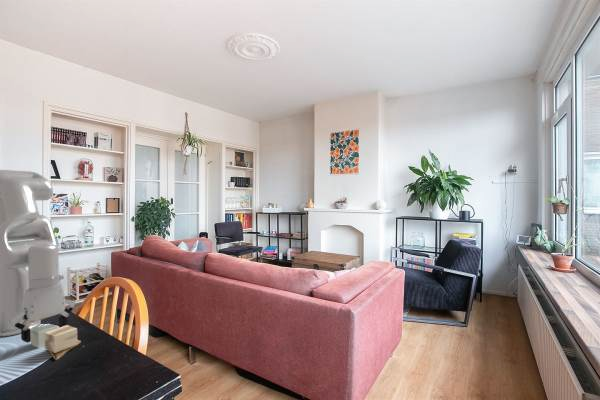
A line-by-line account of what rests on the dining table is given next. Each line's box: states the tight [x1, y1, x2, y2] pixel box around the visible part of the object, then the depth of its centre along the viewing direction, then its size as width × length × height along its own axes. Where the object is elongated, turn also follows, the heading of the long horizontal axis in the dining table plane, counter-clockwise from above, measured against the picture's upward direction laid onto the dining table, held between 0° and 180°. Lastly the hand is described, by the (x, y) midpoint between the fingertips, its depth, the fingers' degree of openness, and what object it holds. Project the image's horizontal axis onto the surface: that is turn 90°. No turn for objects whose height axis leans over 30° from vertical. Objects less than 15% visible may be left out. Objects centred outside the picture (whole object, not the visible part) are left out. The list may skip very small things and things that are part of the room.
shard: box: [48, 339, 81, 361], centre depth 91 cm, size 11×8×2 cm
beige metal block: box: [44, 324, 78, 353], centre depth 92 cm, size 6×6×5 cm
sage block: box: [30, 323, 58, 349], centre depth 96 cm, size 5×5×5 cm
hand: (45, 334), depth 96 cm, fingers open, 9 cm apart
